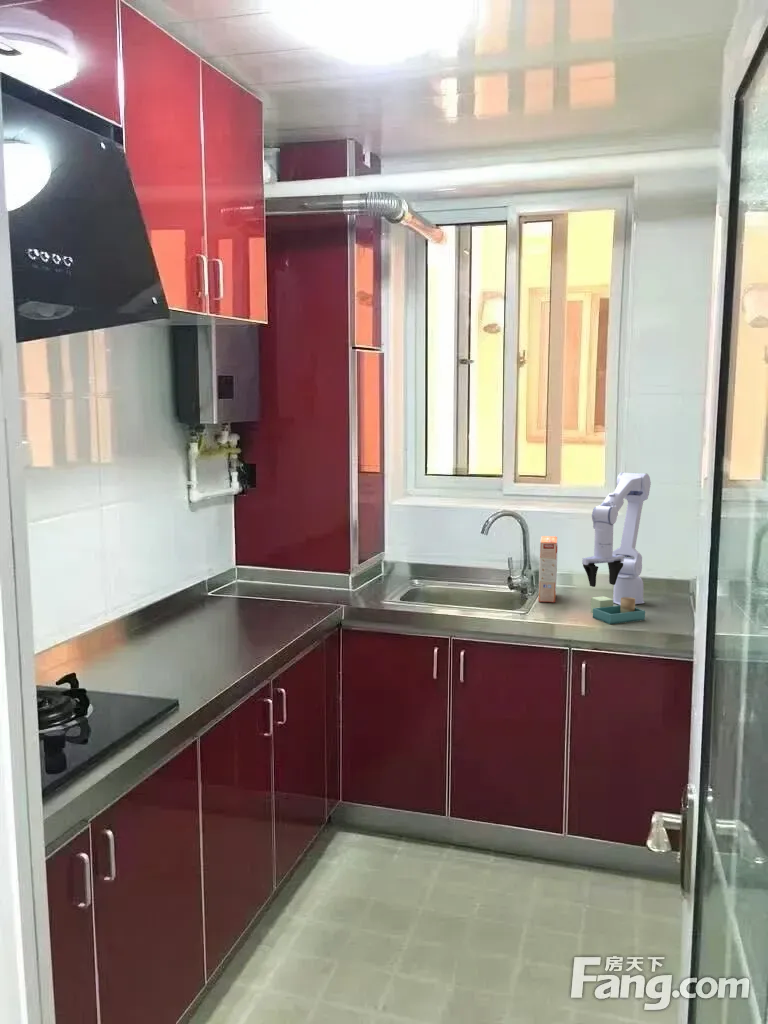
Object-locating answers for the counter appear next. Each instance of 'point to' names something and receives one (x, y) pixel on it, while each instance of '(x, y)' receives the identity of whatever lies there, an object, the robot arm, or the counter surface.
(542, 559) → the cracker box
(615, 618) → the bin
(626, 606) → the cork cylinder
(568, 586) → the counter surface
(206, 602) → the counter surface
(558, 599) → the counter surface
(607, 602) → the sage cube
